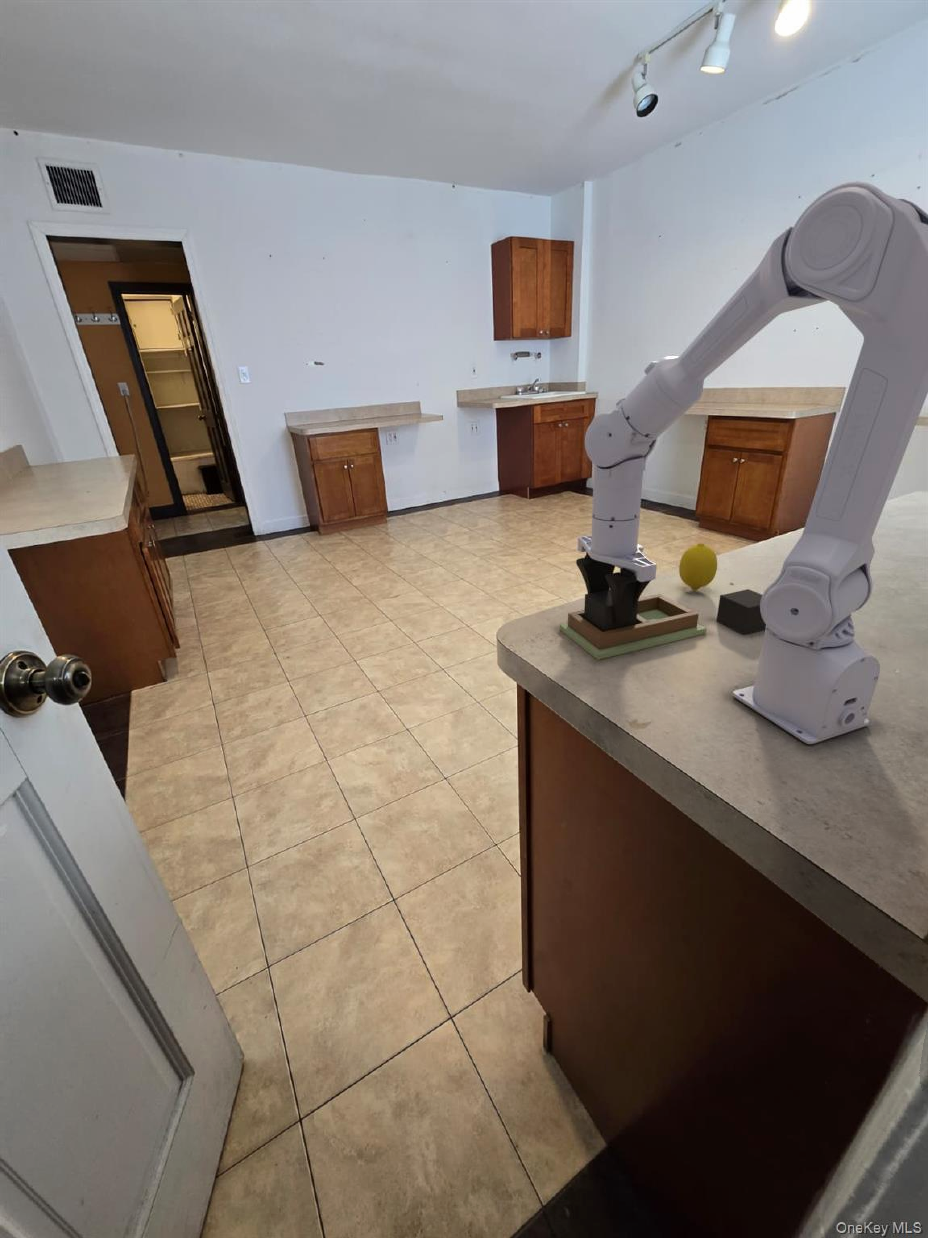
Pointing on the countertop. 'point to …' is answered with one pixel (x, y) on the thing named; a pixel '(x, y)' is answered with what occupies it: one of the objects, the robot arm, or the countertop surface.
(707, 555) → the lemon
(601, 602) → the pad
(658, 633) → the dock
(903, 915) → the countertop surface
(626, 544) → the robot arm
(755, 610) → the black block
